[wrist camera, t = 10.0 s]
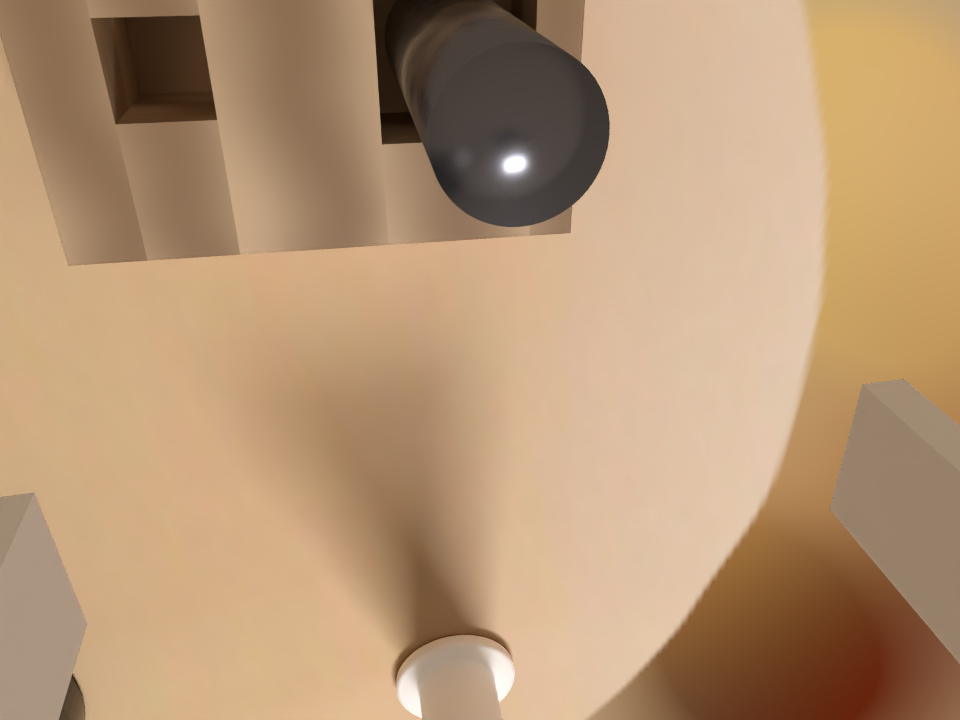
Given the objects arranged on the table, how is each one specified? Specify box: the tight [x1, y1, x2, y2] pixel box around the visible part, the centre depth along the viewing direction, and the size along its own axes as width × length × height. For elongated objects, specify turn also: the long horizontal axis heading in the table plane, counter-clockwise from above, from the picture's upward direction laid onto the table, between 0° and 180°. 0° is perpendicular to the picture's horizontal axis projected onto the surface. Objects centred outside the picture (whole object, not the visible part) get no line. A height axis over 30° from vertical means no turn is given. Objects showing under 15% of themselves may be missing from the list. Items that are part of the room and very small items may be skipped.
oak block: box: [0, 0, 585, 266], centre depth 26 cm, size 17×12×5 cm
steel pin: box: [385, 0, 610, 227], centre depth 23 cm, size 4×4×13 cm
